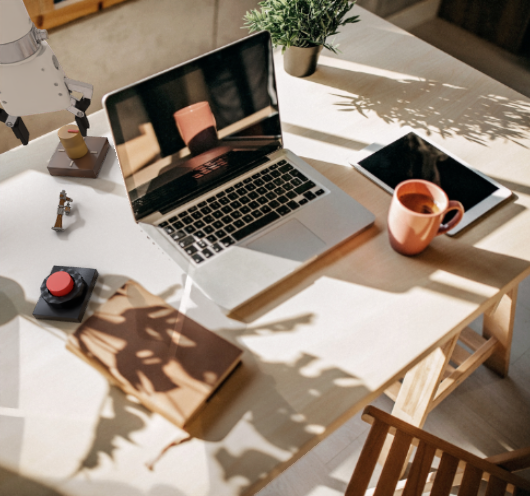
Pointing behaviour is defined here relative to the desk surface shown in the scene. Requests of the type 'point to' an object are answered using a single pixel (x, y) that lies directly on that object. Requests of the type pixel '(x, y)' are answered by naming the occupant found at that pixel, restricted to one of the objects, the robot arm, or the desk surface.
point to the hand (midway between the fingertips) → (56, 135)
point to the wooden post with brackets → (62, 210)
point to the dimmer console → (80, 159)
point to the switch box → (67, 296)
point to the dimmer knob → (72, 141)
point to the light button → (60, 283)
